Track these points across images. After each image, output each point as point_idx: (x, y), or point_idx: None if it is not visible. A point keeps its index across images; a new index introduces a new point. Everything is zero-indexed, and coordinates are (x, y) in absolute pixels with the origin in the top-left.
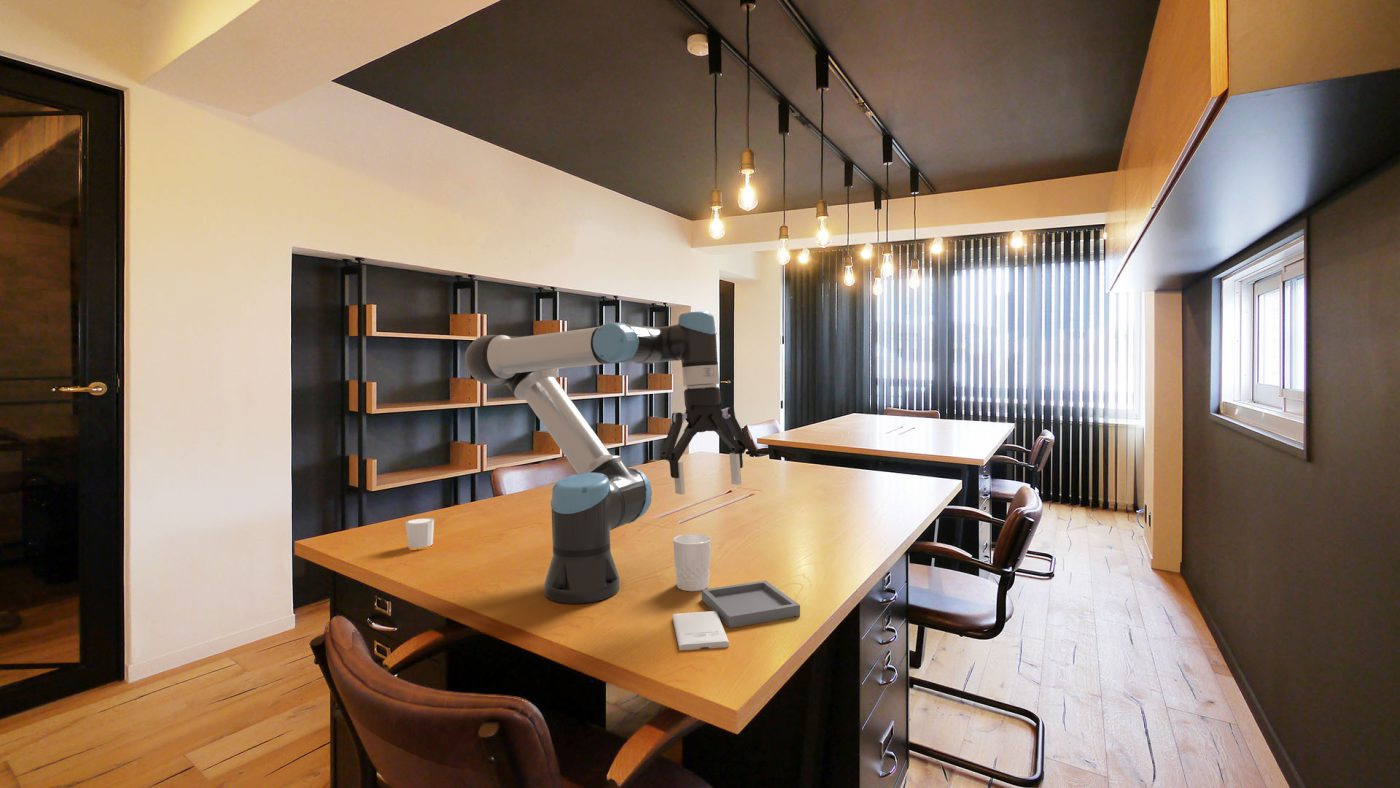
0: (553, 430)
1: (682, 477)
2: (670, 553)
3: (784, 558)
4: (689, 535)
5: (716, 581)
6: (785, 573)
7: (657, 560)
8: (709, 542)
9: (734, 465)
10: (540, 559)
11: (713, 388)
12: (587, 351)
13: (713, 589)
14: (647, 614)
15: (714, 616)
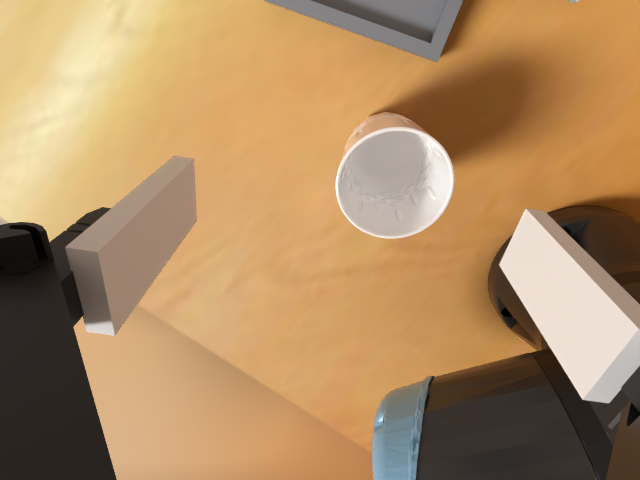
0: None
1: (580, 258)
2: (291, 327)
3: (93, 151)
4: (366, 227)
5: (323, 136)
6: (151, 65)
7: (338, 313)
8: (369, 132)
9: (148, 236)
10: None
11: None
12: None
13: (413, 42)
14: (585, 72)
15: None
